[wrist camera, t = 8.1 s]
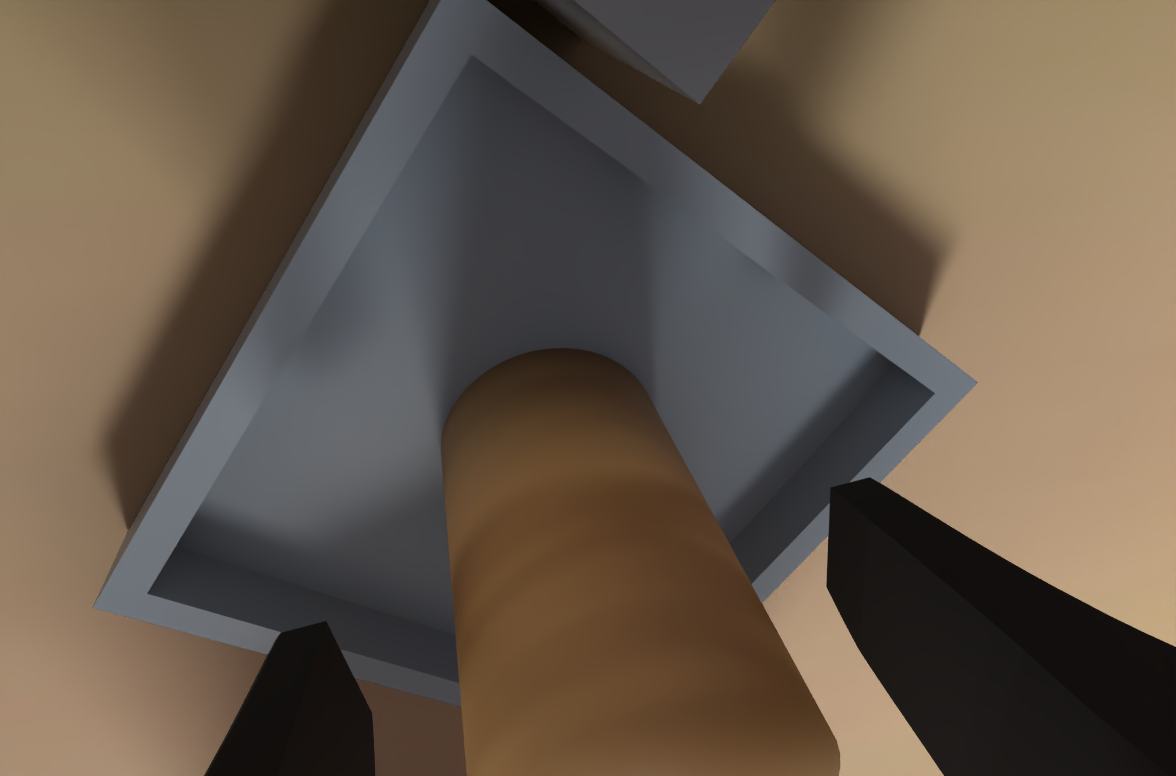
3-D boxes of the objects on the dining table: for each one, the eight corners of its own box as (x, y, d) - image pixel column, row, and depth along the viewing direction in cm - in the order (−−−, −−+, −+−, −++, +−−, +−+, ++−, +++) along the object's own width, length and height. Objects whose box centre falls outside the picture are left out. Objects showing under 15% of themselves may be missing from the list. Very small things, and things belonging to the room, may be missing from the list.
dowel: (697, 410, 14) (909, 745, 8) (572, 554, 15) (680, 938, 9) (525, 306, 12) (639, 644, 6) (398, 480, 13) (395, 897, 8)
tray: (920, 338, 15) (978, 382, 14) (600, 682, 18) (618, 749, 17) (446, -30, 10) (454, -24, 9) (126, 533, 14) (92, 607, 12)
